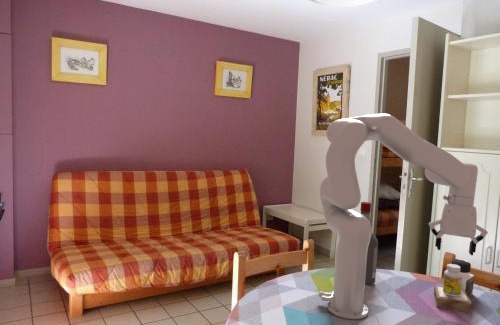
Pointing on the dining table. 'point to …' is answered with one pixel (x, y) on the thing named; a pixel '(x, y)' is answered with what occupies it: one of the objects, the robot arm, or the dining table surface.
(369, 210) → the liquor
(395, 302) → the dining table surface
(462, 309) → the coaster block
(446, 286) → the supplement bottle
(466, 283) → the medicine bottle
